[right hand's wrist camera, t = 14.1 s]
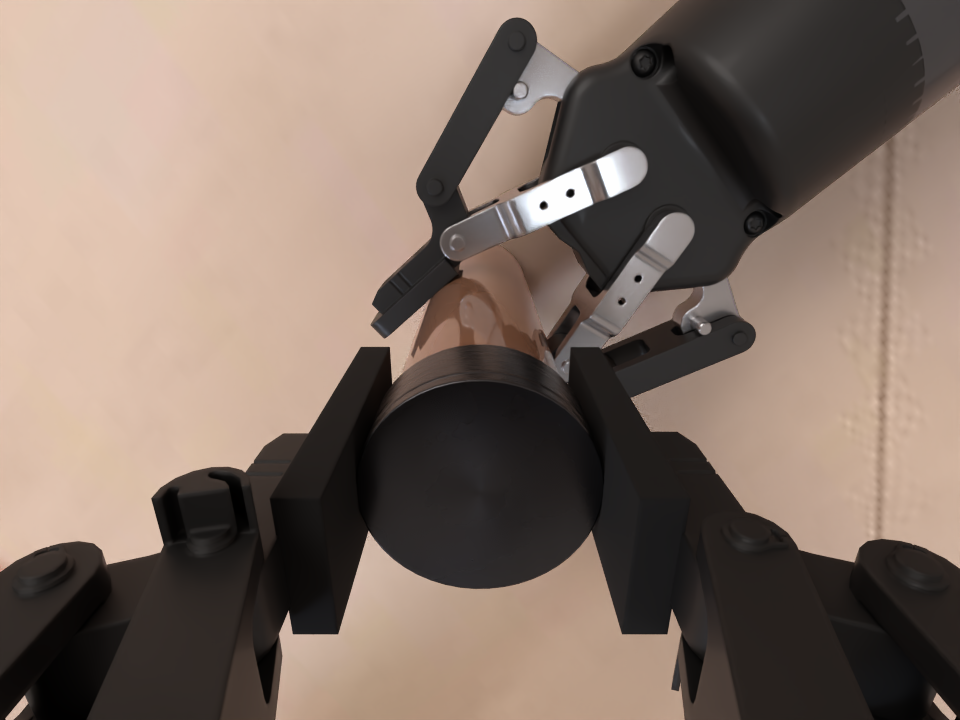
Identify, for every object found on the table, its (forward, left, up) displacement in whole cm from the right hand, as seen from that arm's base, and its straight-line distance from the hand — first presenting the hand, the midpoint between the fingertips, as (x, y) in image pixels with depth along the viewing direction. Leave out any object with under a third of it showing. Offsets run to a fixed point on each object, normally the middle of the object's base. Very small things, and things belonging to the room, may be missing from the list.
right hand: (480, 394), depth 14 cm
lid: (0, 0, +4) cm, 4 cm away
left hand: (-3, -1, -6) cm, 7 cm away
